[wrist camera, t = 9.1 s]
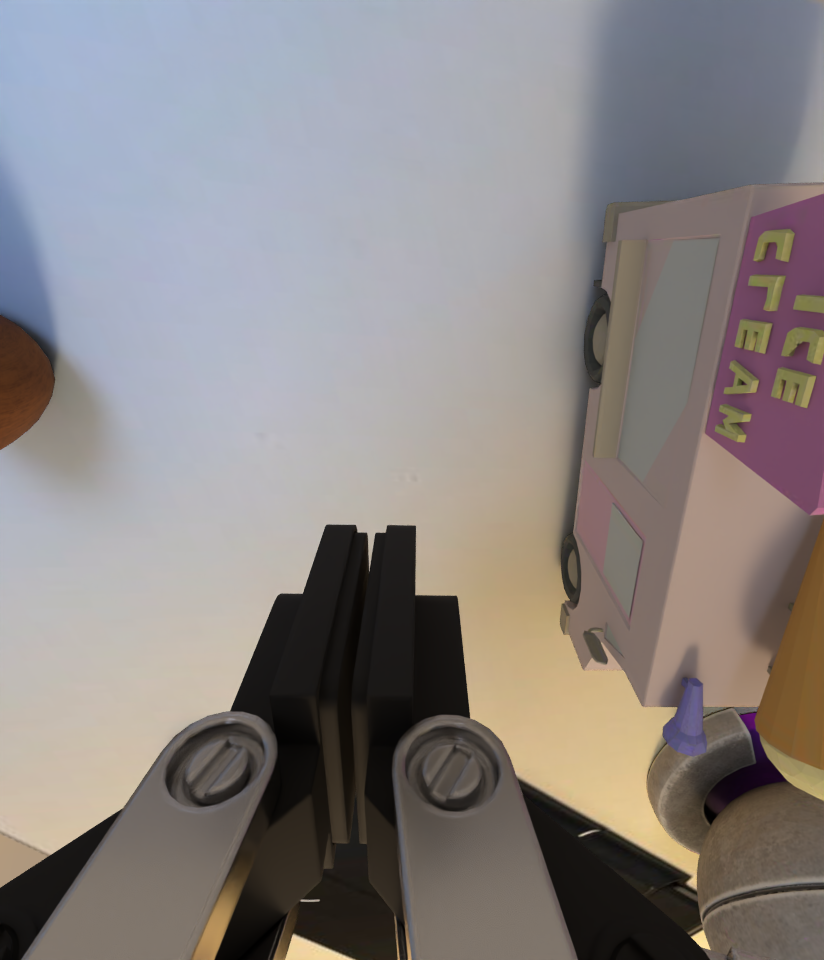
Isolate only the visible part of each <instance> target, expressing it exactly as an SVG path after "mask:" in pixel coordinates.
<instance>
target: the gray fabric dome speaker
mask: <svg viewBox="0 0 824 960" xmlns="http://www.w3.org/2000/svg"><path fill="white" fill-rule="evenodd" d="M756 714H757V713H751V714H745V715H738V714H737V712H736V711H735V709H734V708H730V709H727V710H724V711H721V712H718V713H715V714H712V715H710V716H708V717H705V718H703V731H704V733H705V735H706V740H707V750H706V753H703V754H700V755H697V756H694V757H692V756H689V755H686V754H683V753H680V752H677V751H676V750H674V749H673V748H672V747H671V746H670V745H668V744H666V745H665V746H664V748H663V749H662V750H661V751H660V752H659V754H658V755H657V757H656V758H655V760H654V762H653V763H652V766H651V768H650V771H649V774H648V780H647V791H648V797H649V800H650V802H651V805H652V807H653V810H654V812H655V814H656V816H657V818H658V820H659V822H660V824H661V825H662V826H663V828H664V829H665V831H666V832H667V833H668V835H669V836H670V837H671V838H672V839H674V840H675V841H676V842H677V843H678V844H680V845H682V846H683V847H685V848H687V849H688V850H690V851H692V852H695V853H697V854H700V856H699V860H698V869H697V894H698V904H699V910H700V916H701V921H702V923H703V929H704V932H705V935H706V938H707V941H708V944H709V946H710V949H711V951H715V952H718V953H722V954H725V955H727V954H728V952H729V950H730V948H731V947H734V948H737V949H741V950H744V951H748V952H751V953H755V954H758V955H762V956H765V957H769V958H772V959H775V960H824V801H823V800H821V799H819V798H817V797H815V796H813V795H811V794H809V793H807V792H805V791H803V790H801V789H799V788H797V787H795V786H794V785H792V784H791V783H790V782H789V781H787V780H786V779H785V778H784V776H783V775H782V774H781V773H780V772H779V770H778V769H777V768H776V767H775V766H774V764H773V763H772V762H771V761H770V760H769V758H768V757H767V755H766V753H765V750H764V748H763V746H762V744H761V741H760V735H759V733H758V732H757V731H756V726H755V720H754V719H755V717H756Z"/></svg>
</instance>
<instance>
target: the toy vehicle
mask: <svg viewBox="0 0 824 960" xmlns="http://www.w3.org/2000/svg"><path fill="white" fill-rule="evenodd" d="M603 242H607V246H606V254H605V262H604V270H603V278H602V280H595V281H594V286H595V287H601V288H603V289H604V290H606V291H607V293H608V294H606V295H604V296H602V297H600V298H599V299H598V300H596V301H595V303H594V305H593V307H592V309H591V311H590V314H589V316H588V320H587V325H586V330H585V339H584V355H585V364H586V367H587V370H588V373H589V375H590V377H591V378H592V379H593V380H594V381H596V382H598V383H601V385H600V386H599V387H594V388H590V389H589V398H588V407H587V416H586V424H585V433H584V442H583V451H582V459H581V468H580V477H579V486H578V494H577V503H576V512H575V521H574V529H573V533H572V534H570V535H569V536H567V537H566V539H565V541H564V543H563V547H562V554H561V571H562V579H563V584H564V589H565V591H566V594H567V596H568V598H569V599H570V601H565V604H562V607H561V616H560V626H561V629H562V631H563V634H564V635H570V637H571V640H572V642H573V645H574V648H575V650H576V653H577V655H578V658H579V661H580V663H581V666H582V668H583V670H624V672H625V673H626V675H627V677H628V679H629V681H630V683H631V685H632V687H633V689H634V691H635V693H636V695H637V697H638V699H639V701H640V703H641V705H642V706H643V707H678V709H677V712H676V714H675V717H673V718H672V719H671V720H670V721H669V722H668V723H667V724H666V725H665V726H664V727H663V737H664V739H665V740H666V742H667V744H668V745H670V746H671V747H672V748H673V749H674V750H676V751H677V752H680V753H683V754H686V755H689V756H692V757H694V756H697V755H700V754H703V753H706V750H707V740H706V735H705V733H704V731H703V707H759V708H758V711H757V714H756V717H755V719H754V720H755V726H756V731H757V732H758V733H759V735H760V741H761V744H762V746H763V748H764V750H765V753H766V755H767V757H768V758H769V760H770V761H771V762H772V763H773V764H774V766H775V767H776V768H777V769H778V770H779V772H780V773H781V774H782V775H783V776H784V778H785V779H786V780H787V781H789V782H790V783H791V784H792V785H794V786H795V787H797V788H799V789H801V790H803V791H805V792H807V793H809V794H811V795H813V796H815V797H817V798H819V799H821V800H823V801H824V182H822V183H788V184H754V185H747V186H743V187H738V188H734V189H729V190H724V191H720V192H715V193H711V194H706V195H702V196H697V197H693V198H688V199H684V200H679V201H650V202H614V203H611V204H608V206H607V209H606V216H605V224H604V233H603Z"/></svg>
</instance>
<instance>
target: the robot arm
mask: <svg viewBox="0 0 824 960" xmlns="http://www.w3.org/2000/svg"><path fill="white" fill-rule="evenodd" d="M415 567H416V526H403V525H387V530H386V533H376V534H375V539H374V546H373V552H372V559H371V565H370V572H369V558H368V536H367V533H357V527H356V525H326V527H325V529H324V532H323V535H322V538H321V541H320V544H319V547H318V550H317V553H316V556H315V559H314V562H313V565H312V568H311V571H310V574H309V577H308V580H307V583H306V586H305V589H304V592H303V594H280V595H278V596H277V598H276V600H275V602H274V604H273V607H272V609H271V612H270V614H269V617H268V619H267V622H266V624H265V626H264V629H263V631H262V634H261V636H260V639H259V641H258V644H257V646H256V649H255V651H254V654H253V656H252V659H251V661H250V664H249V666H248V668H247V671H246V673H245V676H244V678H243V681H242V683H241V686H240V688H239V691H238V693H237V696H236V698H235V701H234V703H233V705H232V708H231V710H230V712H222V713H218V714H214V715H210V716H207V717H205V718H203V719H201V720H199V721H196V722H194V723H192V724H190V725H189V726H188V727H186V728H185V729H184V730H182V731H181V732H180V733H178V734H177V735H176V736H175V737H174V738H173V739H172V740H171V741H170V742H169V744H168V745H167V746H166V747H165V748H164V749H163V750H162V752H161V753H160V755H159V756H158V758H157V759H156V761H155V762H154V763H153V765H152V766H151V768H150V769H149V771H148V772H147V774H146V775H145V777H144V778H143V780H142V781H141V783H140V784H139V786H138V787H137V789H136V790H135V792H134V793H133V795H132V796H131V798H130V799H129V801H128V802H127V803H126V805H125V806H124V808H123V809H121V810H120V811H118V812H116V813H115V814H113V815H112V816H110V817H109V818H107V819H106V820H104V821H103V822H101V823H99V824H98V825H96V826H95V827H93V828H92V829H90V830H89V831H87V832H86V833H84V834H82V835H81V836H79V837H78V838H76V839H75V840H73V841H72V842H70V843H69V844H67V845H66V846H64V847H62V848H61V849H59V850H58V851H56V852H55V853H53V854H52V855H50V856H49V857H47V858H45V859H44V860H42V861H41V862H40V863H38V864H36V865H35V866H33V867H32V868H30V869H28V870H27V871H25V872H24V873H22V874H21V875H20V876H18V877H16V878H15V879H13V880H11V881H10V882H8V883H7V884H5V885H4V886H2V887H1V888H0V960H285V958H286V954H287V951H288V948H289V945H290V941H291V938H292V935H293V932H294V928H295V925H296V922H297V919H298V913H299V907H300V901H301V899H302V898H303V897H304V896H305V895H306V894H307V893H308V892H310V891H311V890H312V889H313V888H314V887H315V886H316V885H317V884H318V883H319V882H320V881H321V880H322V874H323V868H333V864H334V857H335V850H336V843H349V840H350V835H351V827H352V818H353V810H354V802H355V793H357V808H358V824H359V839H360V843H366V844H367V854H368V872H369V882H370V883H371V884H372V886H373V887H374V888H375V889H376V891H377V892H378V893H379V894H380V896H381V897H382V898H383V899H384V901H385V902H386V903H387V905H388V906H389V907H390V908H391V910H392V911H393V912H394V913H395V929H396V941H397V953H398V960H775V959H772V958H769V957H765V956H762V955H758V954H755V953H751V952H748V951H744V950H741V949H737V948H734V947H731V948H730V950H729V952H728V954H727V955H725V954H722V953H718V952H715V951H711V950H708V949H705V948H701V947H700V946H699V945H698V944H697V943H696V942H695V941H694V940H693V939H692V938H691V937H690V936H689V935H688V934H687V933H686V932H685V931H684V930H683V929H682V928H681V927H680V926H679V925H677V924H676V923H675V922H674V921H673V920H672V919H670V918H669V917H668V916H667V915H666V914H664V913H663V912H662V911H661V910H660V909H658V908H657V907H656V906H655V905H654V904H653V903H651V902H650V901H649V900H648V899H647V898H645V897H644V896H643V895H642V894H641V893H639V892H638V891H637V890H636V889H635V888H633V887H632V886H631V885H630V884H629V883H628V882H626V881H625V880H624V879H623V878H622V877H620V876H619V875H618V874H617V873H616V872H614V871H613V870H612V869H611V868H610V867H609V866H607V865H606V864H605V863H604V862H603V861H601V860H600V859H599V858H598V857H597V856H595V855H594V854H593V853H592V852H591V851H590V850H588V849H587V848H586V847H585V846H584V845H582V844H581V843H580V842H579V841H578V840H576V839H575V838H574V837H573V836H572V835H571V834H569V833H568V832H567V831H566V830H565V829H563V828H562V827H561V826H560V825H559V824H557V823H556V822H555V821H554V820H553V819H552V818H550V817H549V816H548V815H547V814H546V813H544V812H543V811H542V810H541V809H540V808H538V807H537V806H536V805H535V804H534V803H533V802H531V801H530V800H529V799H528V798H527V797H525V796H524V795H523V794H522V792H521V789H520V786H519V783H518V780H517V777H516V774H515V771H514V768H513V765H512V762H511V759H510V757H509V755H508V753H507V751H506V749H505V747H504V745H503V743H502V741H501V740H500V739H499V738H498V737H497V736H496V735H495V734H494V733H493V732H492V731H491V730H490V729H489V728H487V727H485V726H484V725H482V724H480V723H479V722H477V721H475V720H473V719H470V712H469V703H468V693H467V683H466V673H465V664H464V654H463V644H462V635H461V625H460V615H459V606H458V598H457V596H427V595H415Z"/></svg>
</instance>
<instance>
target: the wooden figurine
mask: <svg viewBox="0 0 824 960" xmlns="http://www.w3.org/2000/svg"><path fill="white" fill-rule="evenodd" d="M54 383H55V377H54V374H53V371H52V367H51V364H50V360H49V359H48V358H47V356H46V355H45V354H44V352H43V351H42V349H41V348H40V347H39V345H38V344H37V343H36V341H34V340H33V339H32V338H31V337H30V336H29V335H28V334H27V333H26V332H25V331H24V330H23V329H22V328H21V327H20V326H18V325H16V324H15V323H13V322H11V321H10V320H8V319H7V318H5V317H3V316H2V315H0V450H1V449H3V448H4V447H6V446H7V445H9V444H11V443H12V442H14V441H15V440H16V439H18V438H19V437H20V436H21V435H23V434H24V433H25V432H27V431H28V430H29V429H30V428H31V427H32V426H33V425H34V424H35V423H36V422H37V421H38V420H39V418H40V416H41V415H42V413H43V412H44V410H45V409H46V407H47V405H48V404H49V401H50V399H51V397H52V393H53V388H54Z"/></svg>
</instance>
